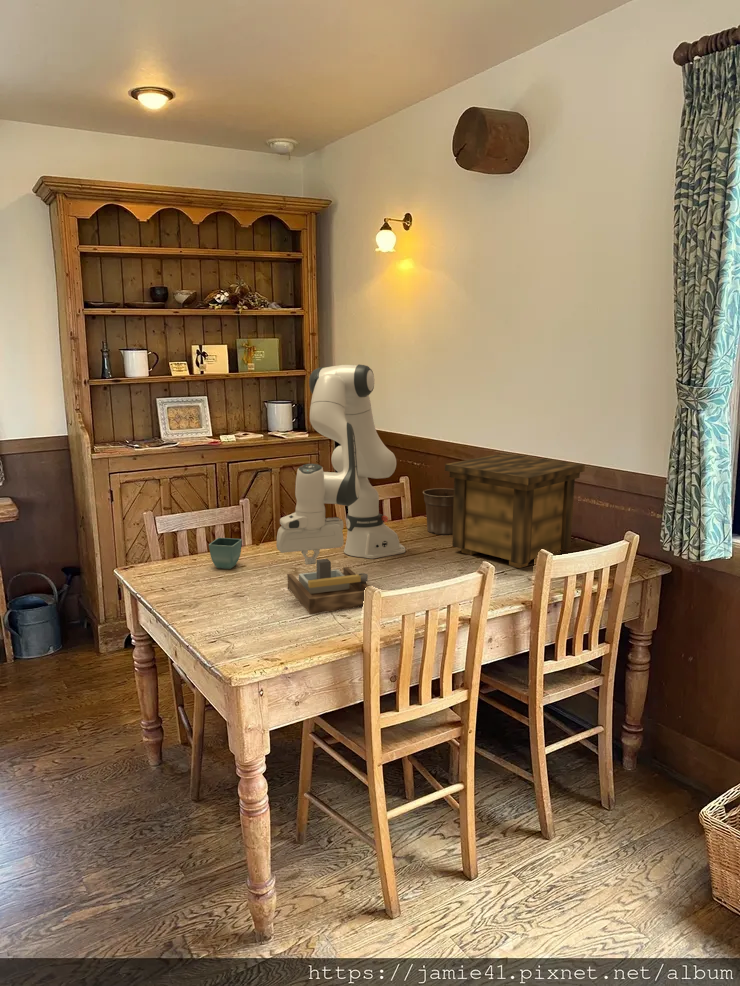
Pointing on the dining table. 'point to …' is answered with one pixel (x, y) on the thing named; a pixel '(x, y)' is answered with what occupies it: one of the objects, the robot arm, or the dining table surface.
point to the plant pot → (439, 510)
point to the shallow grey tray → (322, 577)
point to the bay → (328, 596)
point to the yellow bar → (338, 580)
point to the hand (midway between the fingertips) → (310, 563)
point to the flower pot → (225, 552)
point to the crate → (513, 506)
